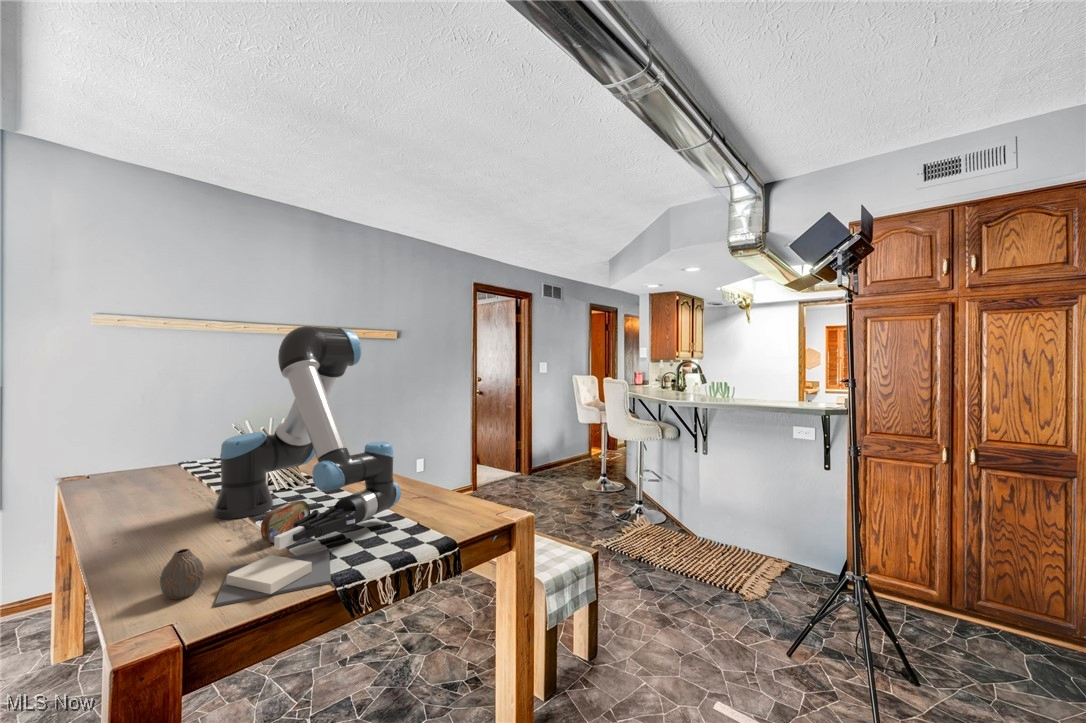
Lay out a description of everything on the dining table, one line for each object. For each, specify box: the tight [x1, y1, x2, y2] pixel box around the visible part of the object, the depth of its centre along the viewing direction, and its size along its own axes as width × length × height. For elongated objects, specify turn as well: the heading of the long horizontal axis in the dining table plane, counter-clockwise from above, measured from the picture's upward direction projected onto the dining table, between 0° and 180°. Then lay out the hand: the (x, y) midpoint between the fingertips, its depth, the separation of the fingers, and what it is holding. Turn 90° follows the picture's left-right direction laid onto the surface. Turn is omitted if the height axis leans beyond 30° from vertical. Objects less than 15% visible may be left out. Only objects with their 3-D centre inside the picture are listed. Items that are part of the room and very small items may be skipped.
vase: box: [159, 548, 205, 600], centre depth 91 cm, size 7×7×9 cm
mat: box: [214, 549, 332, 608], centre depth 98 cm, size 17×20×1 cm
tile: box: [226, 554, 312, 594], centre depth 96 cm, size 12×2×10 cm
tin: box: [260, 500, 311, 544], centre depth 120 cm, size 15×3×8 cm, turn 168°
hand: (277, 543), depth 97 cm, fingers closed
